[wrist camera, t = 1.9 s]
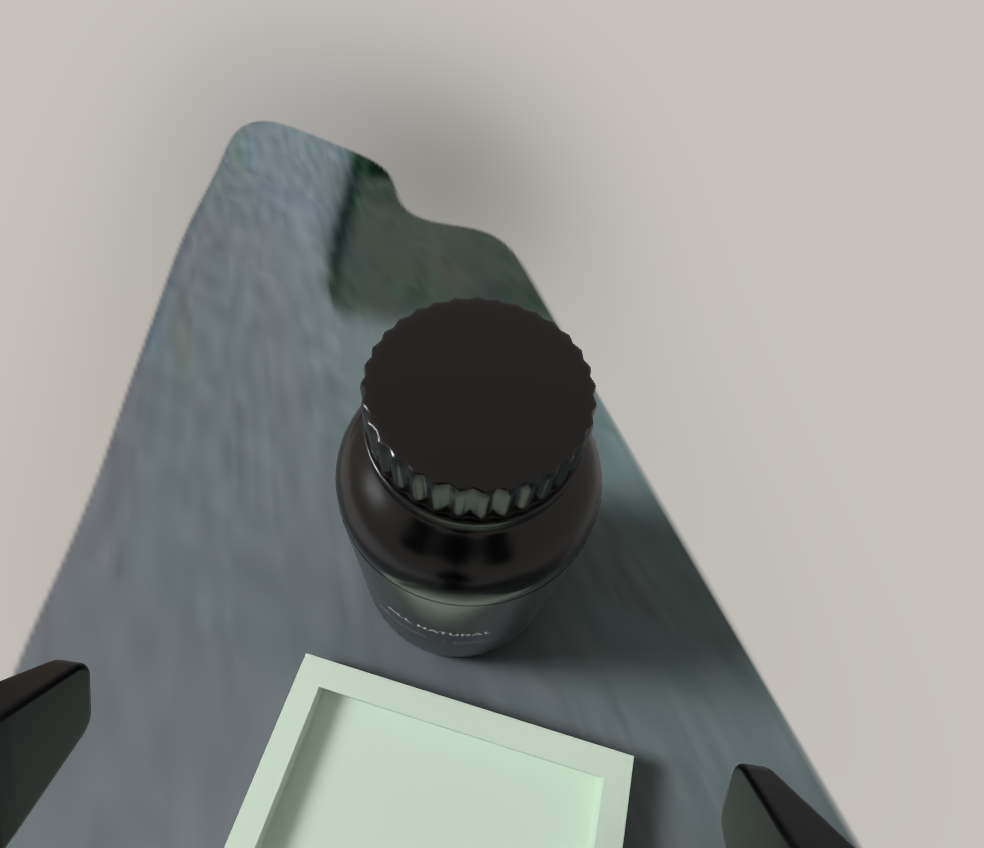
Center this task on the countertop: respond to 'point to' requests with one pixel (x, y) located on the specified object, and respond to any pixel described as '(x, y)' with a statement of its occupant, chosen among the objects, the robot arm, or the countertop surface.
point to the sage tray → (423, 774)
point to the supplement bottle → (469, 472)
